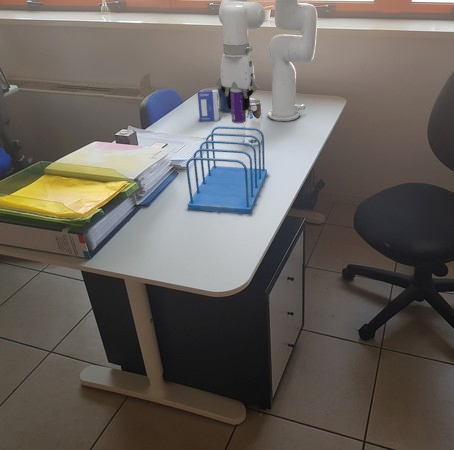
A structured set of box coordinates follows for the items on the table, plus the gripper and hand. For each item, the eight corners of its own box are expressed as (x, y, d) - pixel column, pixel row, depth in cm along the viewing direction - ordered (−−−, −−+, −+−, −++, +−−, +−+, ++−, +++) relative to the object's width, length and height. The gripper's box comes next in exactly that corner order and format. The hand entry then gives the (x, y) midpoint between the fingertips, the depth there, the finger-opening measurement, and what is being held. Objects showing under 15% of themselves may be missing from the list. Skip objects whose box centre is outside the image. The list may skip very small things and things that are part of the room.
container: (244, 124, 150) (242, 76, 143) (230, 123, 151) (227, 76, 143) (247, 119, 154) (246, 73, 146) (233, 118, 155) (231, 72, 147)
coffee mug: (229, 113, 195) (228, 91, 190) (215, 109, 200) (213, 87, 195) (249, 107, 203) (248, 85, 198) (234, 103, 208) (233, 81, 203)
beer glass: (265, 140, 169) (264, 99, 161) (258, 147, 163) (257, 105, 155) (247, 138, 171) (245, 97, 163) (240, 144, 165) (238, 103, 157)
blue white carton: (199, 121, 187) (197, 91, 181) (199, 119, 189) (197, 89, 183) (219, 120, 188) (217, 90, 182) (219, 118, 190) (217, 88, 184)
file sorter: (213, 171, 146) (209, 124, 138) (267, 175, 144) (267, 127, 136) (187, 210, 125) (182, 157, 117) (250, 215, 123) (249, 161, 115)
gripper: (266, 49, 141) (266, 108, 151) (217, 45, 147) (220, 102, 156) (256, 54, 135) (257, 115, 145) (205, 50, 141) (209, 109, 150)
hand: (238, 108), depth 151 cm, fingers closed on container, 4 cm apart
